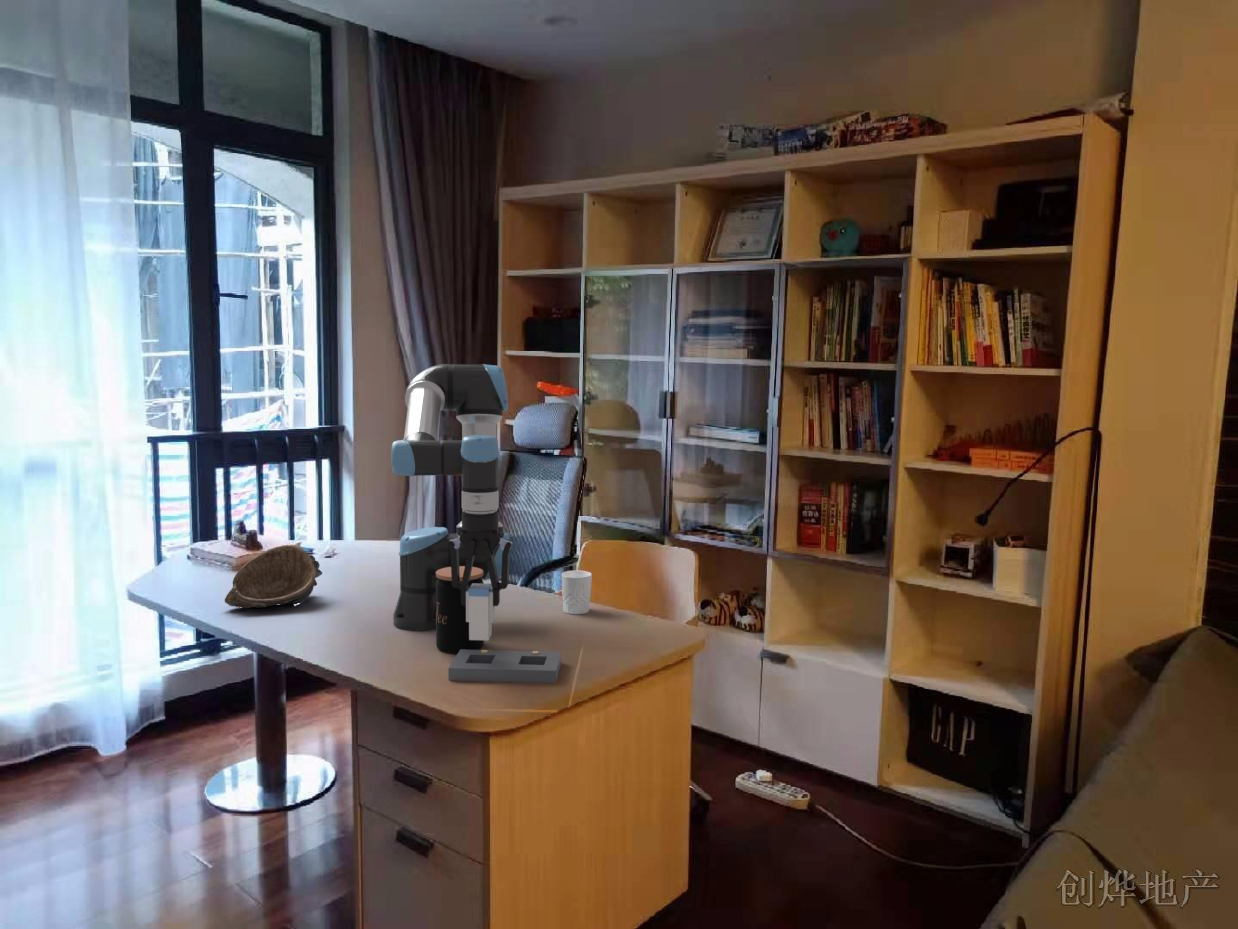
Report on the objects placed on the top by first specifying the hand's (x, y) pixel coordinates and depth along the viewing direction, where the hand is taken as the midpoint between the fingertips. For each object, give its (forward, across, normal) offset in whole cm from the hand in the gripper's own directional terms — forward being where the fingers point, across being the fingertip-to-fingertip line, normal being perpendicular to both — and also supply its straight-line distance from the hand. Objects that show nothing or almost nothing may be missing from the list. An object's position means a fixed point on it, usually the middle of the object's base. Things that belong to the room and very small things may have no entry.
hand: (480, 620), depth 191 cm
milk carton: (+4, 0, 0) cm, 4 cm away
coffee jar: (+12, -7, +15) cm, 20 cm away
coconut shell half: (+13, -61, +46) cm, 78 cm away
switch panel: (+11, +6, -1) cm, 13 cm away
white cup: (+12, +17, +48) cm, 52 cm away
